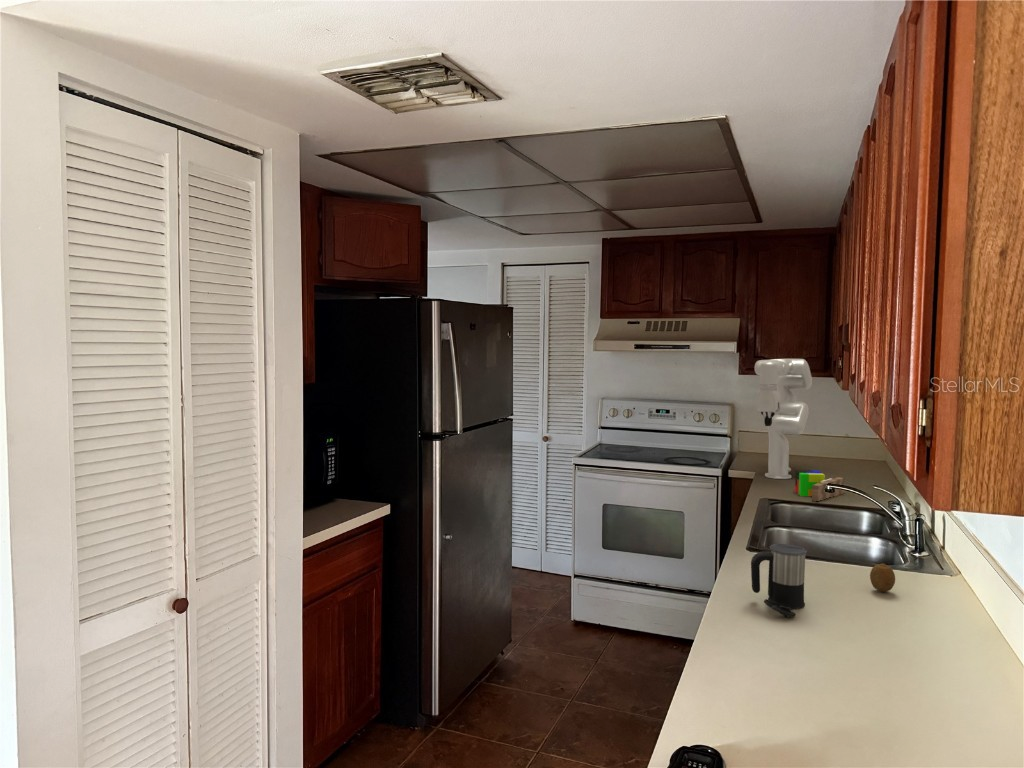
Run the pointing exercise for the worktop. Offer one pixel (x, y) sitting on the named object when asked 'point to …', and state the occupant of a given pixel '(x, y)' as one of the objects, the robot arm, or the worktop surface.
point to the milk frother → (782, 577)
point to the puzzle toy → (807, 481)
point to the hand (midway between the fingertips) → (768, 425)
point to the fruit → (882, 577)
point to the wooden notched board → (820, 493)
